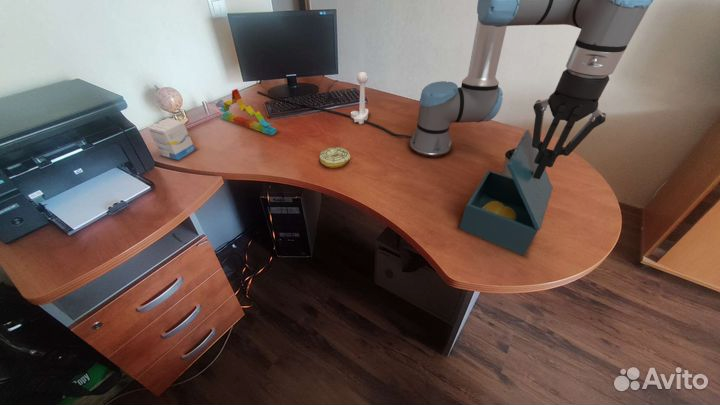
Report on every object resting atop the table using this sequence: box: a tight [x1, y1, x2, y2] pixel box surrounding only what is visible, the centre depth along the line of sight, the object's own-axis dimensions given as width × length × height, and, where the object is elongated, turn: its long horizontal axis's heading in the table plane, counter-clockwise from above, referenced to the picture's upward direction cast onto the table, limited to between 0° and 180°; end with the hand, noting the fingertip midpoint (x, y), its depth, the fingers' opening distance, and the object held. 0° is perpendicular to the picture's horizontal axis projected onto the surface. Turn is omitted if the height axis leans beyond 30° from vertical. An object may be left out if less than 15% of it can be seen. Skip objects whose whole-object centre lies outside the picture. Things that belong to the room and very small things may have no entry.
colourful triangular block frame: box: [219, 88, 277, 136], centre depth 123 cm, size 30×3×15 cm, turn 58°
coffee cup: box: [501, 147, 517, 177], centre depth 94 cm, size 7×7×10 cm
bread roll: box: [482, 201, 517, 221], centre depth 81 cm, size 8×9×4 cm
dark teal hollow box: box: [458, 169, 539, 256], centre depth 80 cm, size 17×19×9 cm
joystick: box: [350, 71, 369, 125], centre depth 126 cm, size 11×8×20 cm
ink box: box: [147, 117, 196, 161], centre depth 107 cm, size 9×8×12 cm
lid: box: [507, 129, 554, 231], centre depth 71 cm, size 18×19×1 cm
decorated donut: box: [319, 146, 351, 169], centre depth 105 cm, size 10×11×4 cm
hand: (537, 175), depth 70 cm, fingers closed
